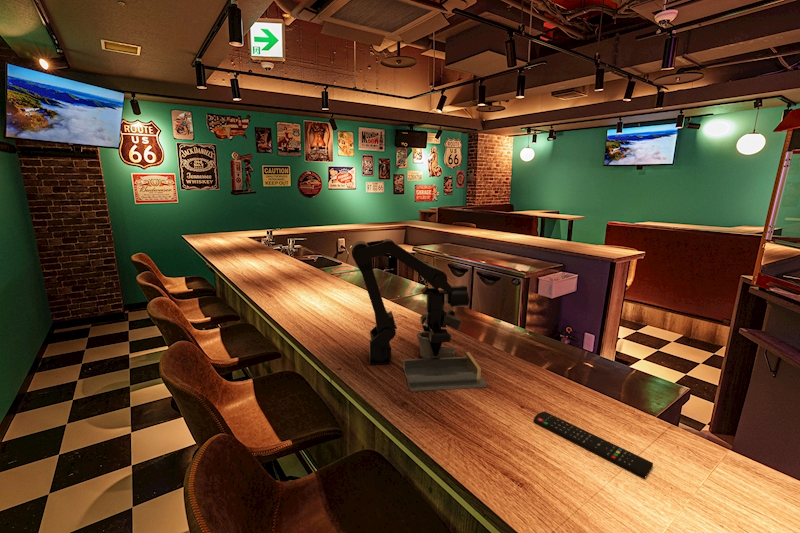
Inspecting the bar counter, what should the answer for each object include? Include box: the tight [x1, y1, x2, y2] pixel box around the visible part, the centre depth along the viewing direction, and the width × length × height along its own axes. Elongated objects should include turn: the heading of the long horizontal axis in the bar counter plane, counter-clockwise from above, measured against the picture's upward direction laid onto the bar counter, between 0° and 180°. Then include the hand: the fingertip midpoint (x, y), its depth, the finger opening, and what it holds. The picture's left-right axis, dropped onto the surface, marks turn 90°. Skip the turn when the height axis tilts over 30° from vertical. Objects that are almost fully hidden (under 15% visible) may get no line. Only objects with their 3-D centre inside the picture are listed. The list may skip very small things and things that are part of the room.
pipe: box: [416, 330, 456, 359], centre depth 123 cm, size 6×13×8 cm, turn 78°
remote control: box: [533, 410, 654, 479], centre depth 83 cm, size 5×24×1 cm, turn 41°
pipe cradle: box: [402, 351, 488, 392], centre depth 111 cm, size 22×14×5 cm, turn 97°
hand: (433, 351), depth 123 cm, fingers closed on pipe, 6 cm apart
